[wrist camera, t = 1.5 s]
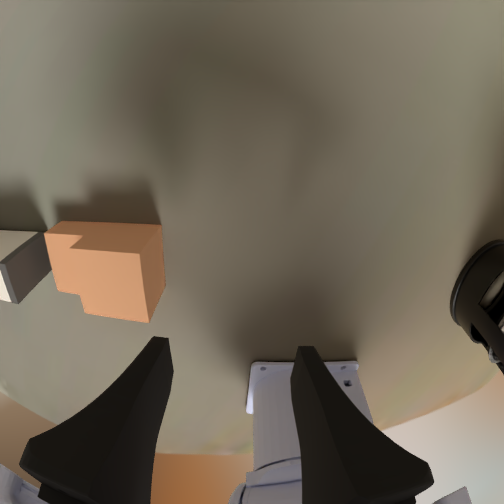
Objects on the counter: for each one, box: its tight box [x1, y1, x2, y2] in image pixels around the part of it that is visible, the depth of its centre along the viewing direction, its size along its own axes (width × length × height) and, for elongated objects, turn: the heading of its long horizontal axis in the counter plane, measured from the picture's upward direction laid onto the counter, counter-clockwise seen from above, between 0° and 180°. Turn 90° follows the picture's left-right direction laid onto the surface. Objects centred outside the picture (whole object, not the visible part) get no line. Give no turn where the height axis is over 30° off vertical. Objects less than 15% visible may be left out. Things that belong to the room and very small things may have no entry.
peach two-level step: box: [44, 221, 166, 323], centre depth 16 cm, size 8×4×4 cm, turn 86°
